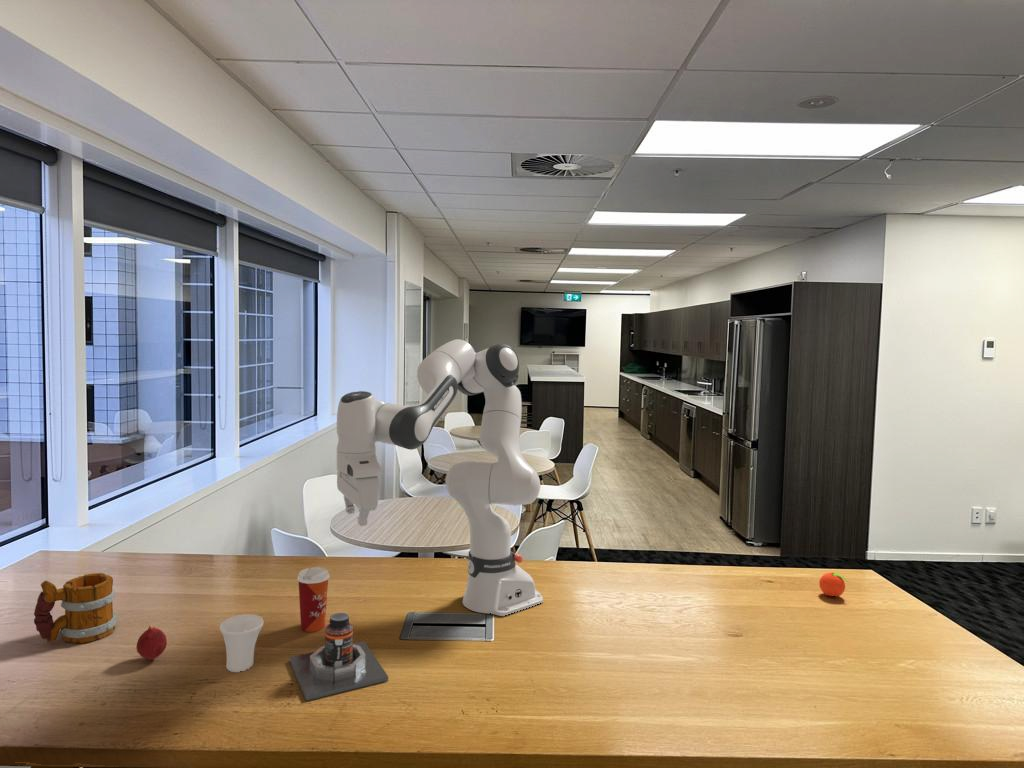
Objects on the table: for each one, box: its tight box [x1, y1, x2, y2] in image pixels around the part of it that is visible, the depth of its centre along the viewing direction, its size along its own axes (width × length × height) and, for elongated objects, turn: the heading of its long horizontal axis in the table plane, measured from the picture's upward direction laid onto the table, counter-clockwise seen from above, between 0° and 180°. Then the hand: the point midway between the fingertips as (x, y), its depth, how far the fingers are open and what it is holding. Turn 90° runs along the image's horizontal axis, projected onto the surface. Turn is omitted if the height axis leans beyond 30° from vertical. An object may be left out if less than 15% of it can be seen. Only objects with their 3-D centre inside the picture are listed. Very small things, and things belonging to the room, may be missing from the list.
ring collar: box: [288, 641, 389, 702], centre depth 141 cm, size 17×17×4 cm
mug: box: [33, 572, 118, 644], centre depth 151 cm, size 11×16×15 cm, turn 137°
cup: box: [219, 613, 265, 673], centre depth 142 cm, size 9×9×10 cm
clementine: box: [818, 572, 850, 598], centre depth 192 cm, size 8×7×7 cm
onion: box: [135, 624, 168, 661], centre depth 143 cm, size 6×6×8 cm
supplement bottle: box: [324, 612, 354, 667], centre depth 141 cm, size 6×6×11 cm
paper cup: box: [296, 566, 331, 633], centre depth 161 cm, size 8×8×14 cm
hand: (356, 518), depth 154 cm, fingers open, 8 cm apart
